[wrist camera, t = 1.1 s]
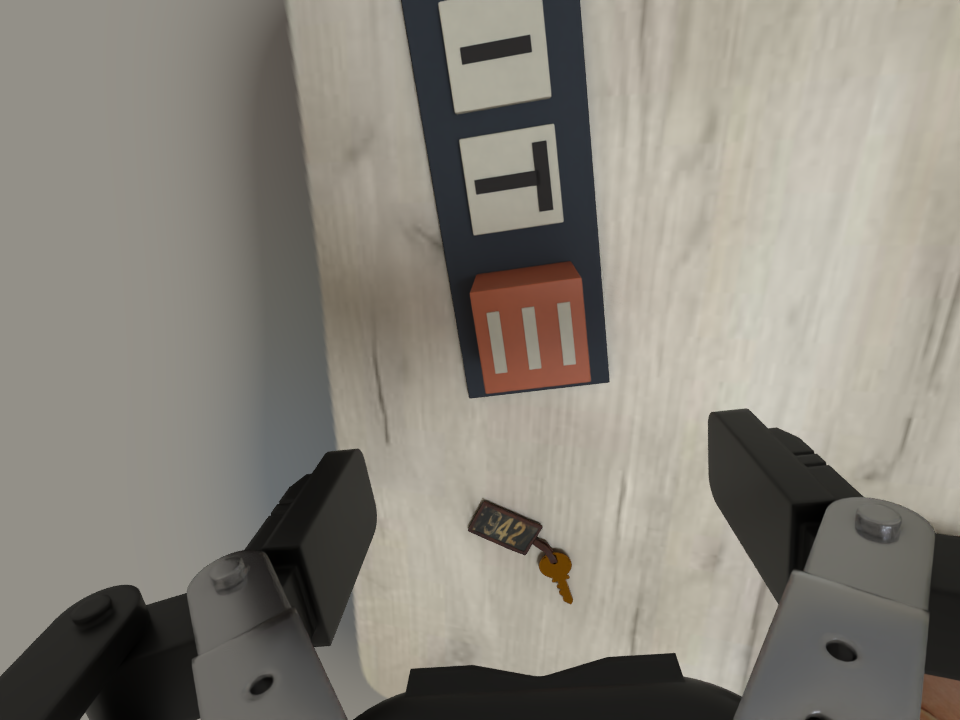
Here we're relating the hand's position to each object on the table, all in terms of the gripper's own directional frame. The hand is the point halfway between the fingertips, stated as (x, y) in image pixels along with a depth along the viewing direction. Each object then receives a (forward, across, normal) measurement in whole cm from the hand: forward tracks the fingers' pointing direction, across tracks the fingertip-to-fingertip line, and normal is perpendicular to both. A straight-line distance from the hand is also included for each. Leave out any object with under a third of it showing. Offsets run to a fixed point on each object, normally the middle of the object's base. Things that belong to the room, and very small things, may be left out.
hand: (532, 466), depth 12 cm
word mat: (+14, 0, -5) cm, 15 cm away
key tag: (+14, +2, +14) cm, 20 cm away
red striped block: (+14, 0, 0) cm, 14 cm away
